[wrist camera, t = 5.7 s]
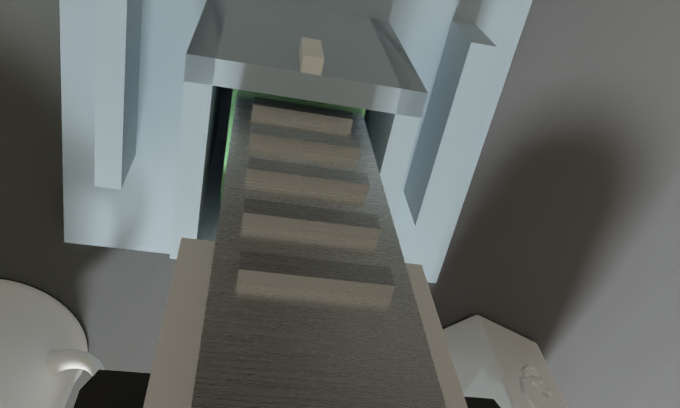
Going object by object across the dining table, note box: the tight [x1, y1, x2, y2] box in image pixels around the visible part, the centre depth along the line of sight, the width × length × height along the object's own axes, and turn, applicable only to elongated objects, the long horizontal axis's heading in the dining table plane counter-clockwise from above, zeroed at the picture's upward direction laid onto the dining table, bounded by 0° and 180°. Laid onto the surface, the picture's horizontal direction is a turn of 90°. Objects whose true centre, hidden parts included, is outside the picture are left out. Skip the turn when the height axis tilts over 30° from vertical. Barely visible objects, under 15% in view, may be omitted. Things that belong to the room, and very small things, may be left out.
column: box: [191, 89, 446, 408], centre depth 15 cm, size 5×5×20 cm
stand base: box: [60, 0, 532, 283], centre depth 24 cm, size 18×18×9 cm
